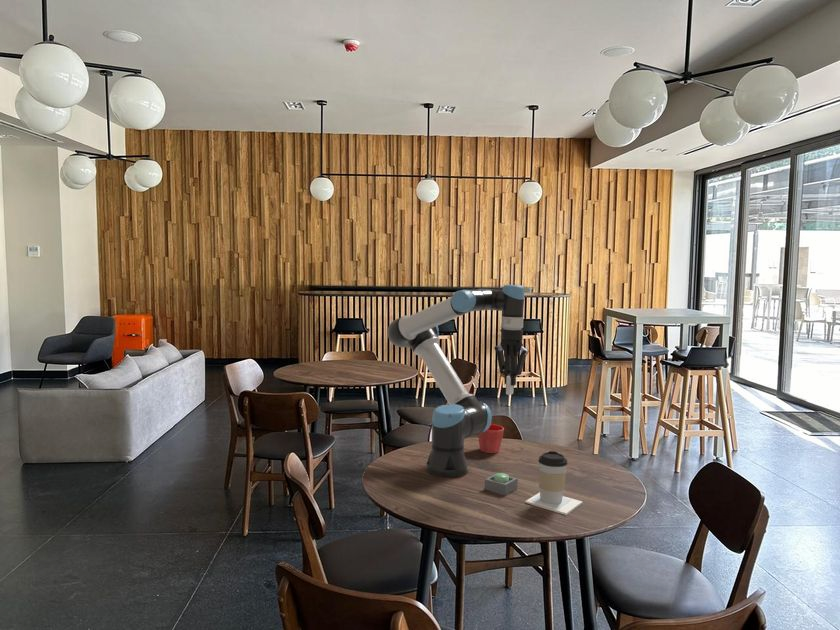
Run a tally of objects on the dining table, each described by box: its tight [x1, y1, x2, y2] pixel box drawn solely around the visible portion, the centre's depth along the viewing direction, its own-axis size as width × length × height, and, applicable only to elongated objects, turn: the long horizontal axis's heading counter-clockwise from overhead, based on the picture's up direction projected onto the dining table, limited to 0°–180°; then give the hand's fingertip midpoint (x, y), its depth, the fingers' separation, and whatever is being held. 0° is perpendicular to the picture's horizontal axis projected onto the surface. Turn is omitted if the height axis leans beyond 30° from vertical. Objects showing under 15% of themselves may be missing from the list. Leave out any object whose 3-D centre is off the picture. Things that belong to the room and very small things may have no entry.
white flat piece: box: [524, 491, 583, 516], centre depth 192 cm, size 14×12×1 cm
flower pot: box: [477, 423, 505, 454], centre depth 243 cm, size 11×11×10 cm
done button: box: [493, 472, 509, 483], centre depth 202 cm, size 5×5×4 cm
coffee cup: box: [537, 450, 568, 504], centre depth 192 cm, size 9×9×15 cm
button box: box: [484, 474, 519, 496], centre depth 202 cm, size 8×8×4 cm
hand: (509, 393), depth 214 cm, fingers closed
